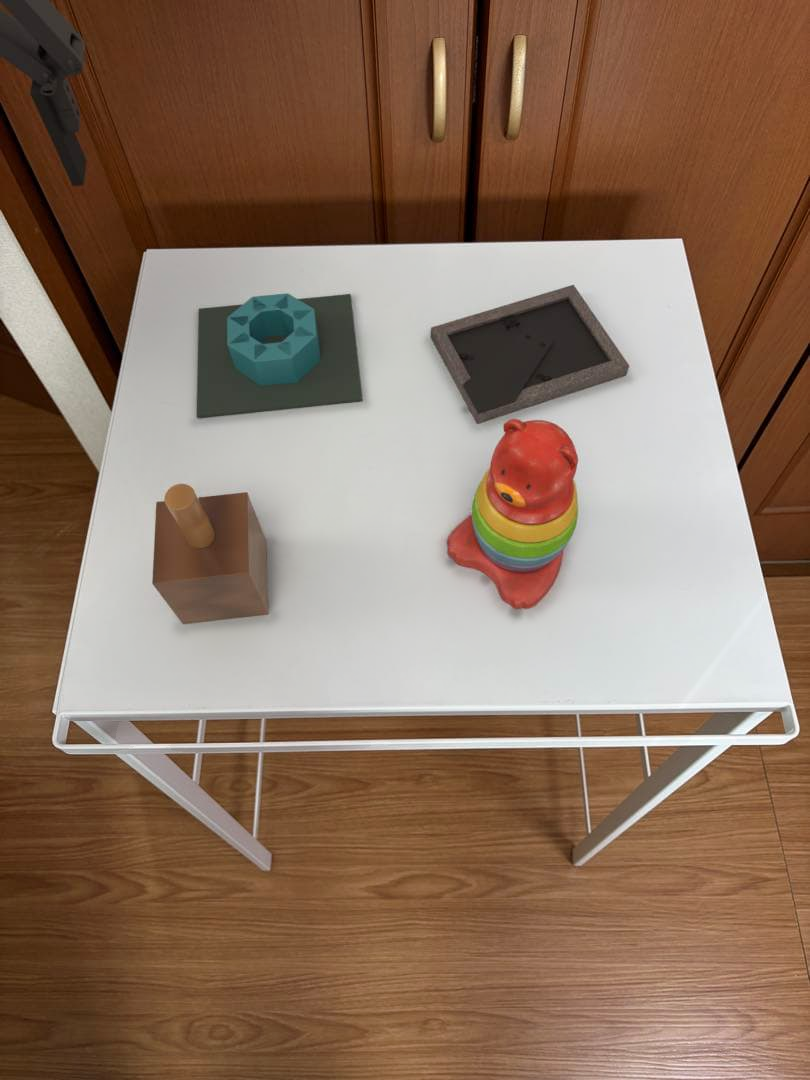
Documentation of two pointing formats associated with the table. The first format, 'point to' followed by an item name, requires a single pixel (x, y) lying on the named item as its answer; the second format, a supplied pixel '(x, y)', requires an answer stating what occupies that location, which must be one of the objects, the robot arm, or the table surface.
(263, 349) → the ring
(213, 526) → the ring stand
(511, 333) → the picture frame
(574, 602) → the table surface
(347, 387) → the mat
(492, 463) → the stacking bear
